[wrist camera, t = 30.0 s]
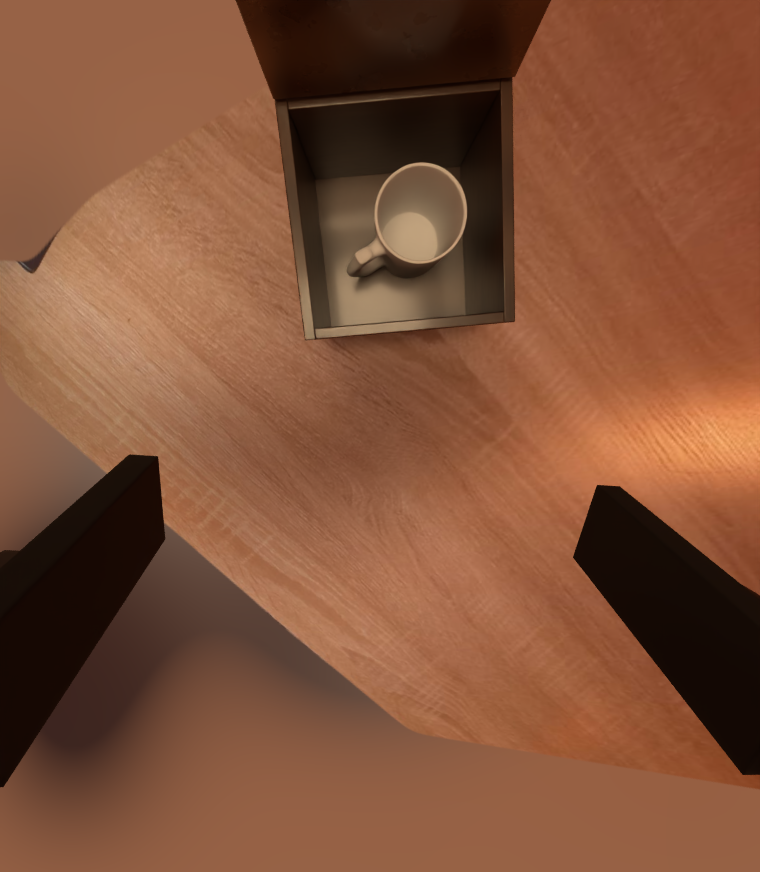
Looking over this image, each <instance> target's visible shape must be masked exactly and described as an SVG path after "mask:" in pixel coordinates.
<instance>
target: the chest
mask: <svg viewBox="0 0 760 872" xmlns="http://www.w3.org/2000/svg"><path fill="white" fill-rule="evenodd" d="M275 106H276V114H277V122H278V130H279V138H280V146H281V154H282V161H283V169H284V177H285V185H286V193H287V201H288V209H289V217H290V225H291V233H292V241H293V249H294V257H295V265H296V273H297V281H298V289H299V297H300V304H301V312H302V320H303V328H304V336H305V340H316V339H328V338H339V337H350V336H361V335H372V334H383V333H395V332H406V331H417V330H428V329H439V328H451V327H462V326H473V325H484V324H495V323H506V322H515V281H514V188H513V95H512V77H508V78H497V79H486V80H476V81H465V82H454V83H443V84H433V85H422V86H411V87H400V88H390V89H379V90H368V91H357V92H347V93H336V94H325V95H314V96H304V97H293V98H282V99H275ZM420 162H424V163H431V164H435V165H438V166H440V167H442V168H444V169H446V170H447V171H448V172H450V173H451V174H452V175H453V176H454V177H455V178H456V179H457V181H458V182H459V184H460V185H461V187H462V189H463V192H464V195H465V198H466V203H467V219H466V225H465V228H464V231H463V234H462V236H461V238H460V240H459V241H458V243H457V244H456V245H455V247H454V248H453V249H452V250H451V251H450V252H449V253H448V254H447V255H446V256H445V257H444V258H443V259H441V260H440V261H439V262H438V263H437V264H436V265H434V266H433V267H432V268H431V269H430V270H429V271H427V272H426V273H424V274H423V275H421V276H418V277H415V278H400V277H397V276H395V275H393V274H392V273H390V272H389V271H388V270H387V269H386V268H385V267H384V266H383V267H381V268H379V269H377V270H376V271H374V272H373V273H371V274H370V275H368V276H363V277H350V276H349V275H348V274H347V267H348V265H349V263H350V261H351V260H352V259H353V257H354V256H355V253H356V252H357V251H359V250H360V249H362V248H364V247H366V246H368V245H369V244H370V243H372V242H373V241H374V239H375V238H376V233H375V220H374V210H375V203H376V199H377V196H378V193H379V191H380V189H381V187H382V186H383V184H384V183H385V181H386V180H387V179H388V178H389V177H390V176H391V175H392V174H393V173H394V172H395V171H397V170H398V169H400V168H402V167H404V166H406V165H409V164H413V163H420Z"/></svg>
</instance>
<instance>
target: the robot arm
mask: <svg viewBox="0 0 760 872" xmlns="http://www.w3.org/2000/svg"><path fill="white" fill-rule="evenodd" d="M164 540H165V532H164V519H163V508H162V496H161V484H160V473H159V461H158V456H144V455H128V456H127V457H126V458H125V459H123V460H122V461H121V462H120V463H119V464H118V465H117V466H116V467H114V468H113V469H112V470H111V471H110V472H109V473H108V474H106V475H105V476H104V477H103V478H102V479H101V480H100V481H99V482H98V483H96V484H95V485H94V486H93V487H92V488H91V489H89V490H88V491H87V492H86V493H85V494H84V495H83V496H82V497H80V498H79V499H78V500H77V501H76V502H75V503H74V504H73V505H72V506H70V507H69V508H68V509H67V510H66V511H65V512H63V513H62V514H61V515H60V516H59V517H58V518H57V519H56V520H54V521H53V522H52V523H51V524H50V525H49V526H48V527H46V528H45V529H44V530H43V531H42V532H41V533H40V534H38V535H37V536H36V537H35V538H34V539H33V540H32V541H31V542H29V543H28V544H27V545H26V546H25V547H24V548H23V549H21V550H20V551H10V550H4V551H2V552H0V787H4V785H5V784H6V782H7V781H8V779H9V778H10V776H11V774H12V773H13V772H14V770H15V768H16V767H17V765H18V764H19V762H20V761H21V759H22V758H23V756H24V755H25V753H26V752H27V750H28V749H29V747H30V745H31V744H32V742H33V741H34V739H35V738H36V736H37V735H38V733H39V732H40V730H41V729H42V727H43V726H44V724H45V722H46V721H47V719H48V718H49V716H50V715H51V713H52V712H53V710H54V709H55V707H56V706H57V704H58V703H59V701H60V700H61V698H62V696H63V695H64V693H65V692H66V690H67V689H68V687H69V686H70V684H71V682H72V681H73V680H74V678H75V676H76V675H77V674H78V672H79V670H80V669H81V667H82V666H83V664H84V663H85V661H86V660H87V658H88V657H89V655H90V654H91V652H92V650H93V649H94V647H95V646H96V644H97V643H98V641H99V640H100V638H101V637H102V635H103V634H104V632H105V630H106V629H107V627H108V626H109V624H110V623H111V621H112V620H113V618H114V617H115V615H116V614H117V612H118V611H119V609H120V608H121V606H122V605H123V603H124V601H125V600H126V598H127V597H128V595H129V594H130V592H131V591H132V589H133V588H134V586H135V585H136V583H137V581H138V580H139V579H140V577H141V575H142V574H143V572H144V571H145V569H146V568H147V566H148V565H149V563H150V562H151V560H152V558H153V557H154V556H155V554H156V552H157V551H158V549H159V548H160V546H161V545H162V543H163V542H164ZM573 558H574V559H575V561H576V562H577V563H578V564H579V566H580V567H581V568H582V569H583V571H584V572H585V573H586V575H587V576H588V577H589V578H590V580H591V581H592V582H593V584H594V585H595V586H596V587H597V589H598V590H599V591H600V593H601V594H602V595H603V596H604V598H605V599H606V600H607V602H608V603H609V604H610V605H611V607H612V608H613V609H614V610H615V612H616V613H617V614H618V616H619V617H620V618H621V619H622V621H623V622H624V623H625V625H626V626H627V627H628V628H629V630H630V631H631V632H632V634H633V635H634V636H635V637H636V639H637V640H638V641H639V643H640V644H641V645H642V646H643V648H644V649H645V650H646V652H647V653H648V654H649V655H650V657H651V658H652V659H653V660H654V662H655V663H656V664H657V666H658V667H659V668H660V669H661V671H662V672H663V673H664V675H665V676H666V677H667V678H668V680H669V681H670V682H671V684H672V685H673V686H674V687H675V689H676V690H677V691H678V693H679V694H680V695H681V696H682V698H683V699H684V700H685V701H686V703H687V704H688V705H689V707H690V708H691V709H692V710H693V712H694V713H695V714H696V716H697V717H698V718H699V719H700V721H701V722H702V723H703V725H704V726H705V727H706V728H707V730H708V731H709V732H710V734H711V735H712V736H713V737H714V739H715V740H716V741H717V743H718V744H719V745H720V746H721V748H722V749H723V750H724V751H725V753H726V754H727V755H728V757H729V758H730V759H731V760H732V762H733V763H734V764H735V766H736V767H737V768H738V769H739V771H740V772H741V773H742V775H760V596H759V595H758V594H757V593H755V592H753V591H752V590H750V589H748V588H747V587H745V586H743V585H741V584H740V583H739V582H737V581H736V580H735V579H734V578H733V577H731V576H730V575H729V574H728V573H726V572H725V571H724V570H723V569H721V568H720V567H719V566H718V565H716V564H715V563H714V562H713V561H711V560H710V559H709V558H708V557H706V556H705V555H704V554H703V553H702V552H700V551H699V550H698V549H697V548H695V547H694V546H693V545H692V544H690V543H689V542H688V541H687V540H685V539H684V538H683V537H682V536H680V535H679V534H678V533H677V532H675V531H674V530H673V529H672V528H671V527H669V526H668V525H667V524H666V523H664V522H663V521H662V520H661V519H659V518H658V517H657V516H656V515H654V514H653V513H652V512H651V511H649V510H648V509H647V508H646V507H645V506H643V505H642V504H641V503H640V502H638V501H637V500H636V499H635V498H633V497H632V496H631V495H630V494H628V493H627V492H626V491H625V490H623V489H622V488H621V487H620V486H604V485H597V487H596V490H595V493H594V496H593V499H592V502H591V505H590V508H589V511H588V514H587V517H586V520H585V523H584V526H583V529H582V532H581V535H580V538H579V541H578V544H577V547H576V550H575V553H574V556H573Z"/></svg>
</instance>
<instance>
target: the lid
mask: <svg viewBox="0 0 760 872" xmlns="http://www.w3.org/2000/svg"><path fill="white" fill-rule="evenodd" d="M550 1H551V0H236V2H237V5H238V8H239V10H240V13H241V16H242V18H243V21H244V23H245V26H246V29H247V31H248V34H249V37H250V39H251V42H252V44H253V47H254V50H255V52H256V55H257V57H258V60H259V63H260V65H261V68H262V71H263V73H264V76H265V78H266V81H267V84H268V86H269V89H270V91H271V94H272V97H273V99H282V98H293V97H304V96H314V95H325V94H336V93H347V92H357V91H368V90H379V89H390V88H400V87H411V86H422V85H433V84H443V83H454V82H465V81H476V80H486V79H497V78H508V77H515V75H516V73H517V71H518V69H519V67H520V65H521V63H522V61H523V58H524V56H525V54H526V52H527V50H528V48H529V46H530V44H531V41H532V39H533V37H534V35H535V33H536V31H537V29H538V27H539V25H540V22H541V20H542V18H543V16H544V14H545V12H546V10H547V8H548V5H549V3H550Z"/></svg>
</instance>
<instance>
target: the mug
mask: <svg viewBox="0 0 760 872" xmlns="http://www.w3.org/2000/svg"><path fill="white" fill-rule="evenodd" d="M466 219H467V203H466V198H465V195H464V192H463V189H462V187H461V185H460V184H459V182H458V181H457V179H456V178H455V177H454V176H453V175H452V174H451V173H450V172H448V171H447V170H446V169H444V168H442V167H440V166H438V165H435V164H431V163H424V162H420V163H413V164H409V165H406V166H404V167H402V168H400V169H398V170H397V171H395V172H394V173H393V174H392V175H391V176H390V177H389V178H388V179H387V180H386V181H385V183H384V184H383V186H382V187H381V189H380V191H379V193H378V196H377V199H376V203H375V210H374V220H375V233H376V238H375V239H374V241H373V242H372V243H370V244H369V245H368V246H366V247H364V248H362V249H360V250H359V251H357V252H356V253H355V256H354V257H353V259H352V260H351V261H350V263H349V265H348V267H347V274H348V275H349V276H350V277H363V276H368V275H370V274H371V273H373V272H374V271H376V270H377V269H379V268H381V267H383V266H384V267H385V268H386V269H387V270H388V271H389V272H390V273H392V274H393V275H395V276H397V277H400V278H415V277H418V276H421V275H423V274H424V273H426V272H427V271H429V270H430V269H431V268H432V267H433V266H434V265H436V264H437V263H438V262H439V261H440V260H441V259H443V258H444V257H445V256H446V255H447V254H448V253H449V252H450V251H451V250H452V249H453V248H454V247H455V245H456V244H457V243H458V241H459V240H460V238H461V236H462V234H463V231H464V228H465V225H466Z"/></svg>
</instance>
